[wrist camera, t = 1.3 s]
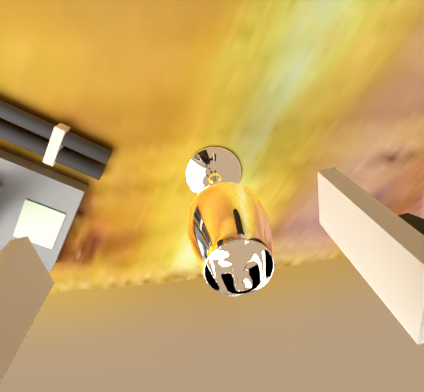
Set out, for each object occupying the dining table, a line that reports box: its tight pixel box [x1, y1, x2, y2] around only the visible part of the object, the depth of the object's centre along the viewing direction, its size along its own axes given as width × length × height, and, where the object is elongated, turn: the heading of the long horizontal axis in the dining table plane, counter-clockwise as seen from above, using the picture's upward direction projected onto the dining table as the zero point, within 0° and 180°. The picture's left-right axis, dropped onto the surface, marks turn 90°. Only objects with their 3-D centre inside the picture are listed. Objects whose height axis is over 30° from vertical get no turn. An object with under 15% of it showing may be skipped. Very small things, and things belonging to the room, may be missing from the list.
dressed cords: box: [0, 100, 112, 180], centre depth 35 cm, size 22×5×2 cm, turn 61°
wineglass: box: [185, 147, 275, 297], centre depth 32 cm, size 8×8×20 cm
